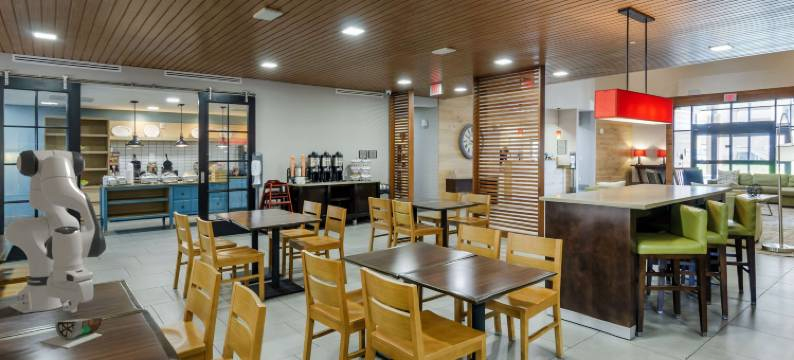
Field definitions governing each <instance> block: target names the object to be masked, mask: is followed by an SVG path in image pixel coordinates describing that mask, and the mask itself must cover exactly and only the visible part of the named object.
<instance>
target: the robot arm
mask: <svg viewBox="0 0 794 360" xmlns="http://www.w3.org/2000/svg"><path fill="white" fill-rule="evenodd" d="M85 167H86V162H85V158H84V155H83V154H82V153H80V152H78V151H74V150H71V151H68V150H63V149H62V150H60V149H59V150H58V149H50V150H49V149H48V150H47V149H46V150H44V149H43V150H42V149H40V150H39V149H38V150H33V149H29V150H23V151H21V152H20V153H19V154H18V156H17V159H16V168H17V170H18V172H19V174H20V175H22V176H23V177H28V178H29V177H30V182H29V197H28V199H29V200H28V202H29V205H30V207H32V208H33V209H35V210H37V211H40V212H44V213H45V215H44V216H41V217H31V218H30V217H29V218H23V219H17V220H15V221H12V222H10V223H9V224H8V225H7V226H6V228H5V238H6V240H7V241H8V242H9V243H10V244H11V245H13V246H16V247H18V248H19V249H20V250H22V251H23V253H24V254H25V255H26V257H27V262H28V269H29V275H28V276H27V277H26V280H27V282H26V285H25V286H24V287H23V288H22V289H21V290H20V291H19V292H18V293H17V296H16V302H14V303H12V304H10V308H11V309H14V310H16V311H18V312H20V313H22V314H27V313H33V312H44V311H51V310H55V309H58V308H62V311H63V312H70V313H76V312H77V311H78V306H79V303H82V304H83V303H84V304H85V303H88V302H90V301H92V300H93V299H94V282H93V280H92V279H93V278H94V273H93V271H91V270H90V269H88V268H87V267H86V266H84V260H83V259H84V258H85V259H86V258H98V257H100V256H101V255H103V253H104V252H105V251H106V250H107V238H106V236H105V235H104V233H103V231H102V228H101V225H100V223H99V220H98V217H97V215H96V212H95V209H94V206H93V204H92V200H91V199H90V197H89V195H88V194H87V193H86V192H83V191H81V188H79V187H78V184H77V181H76V179H77V178H76V177H77V176H80V175H81V174H83V172H84V171H85ZM66 209H71V210H74V211H76V212H78V213H79V214H80V215H81V217H82V219H83V222H84V225H85V228H86V231H81V229H80V223H79V220H78V218H76V217H75V216H73V215H71V214H70V213H69V212H67V210H66ZM45 245H46V246H45ZM69 302H70V304H69Z"/></svg>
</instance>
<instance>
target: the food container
mask: <svg viewBox="0 0 794 360" xmlns="http://www.w3.org/2000/svg"><path fill="white" fill-rule="evenodd" d="M102 321H103V318H102V317H83V318H76V319H68V320H60V321H59V320H58V321H54V325H55V326H54V327H55V331H56V333H57V336H58V335H59V336H60V337H62V338H65V339H73V338H75V337H76V336H77V335H82V334H86V333H90V332H92V333H95V332H96V331H97V330H99V328H100V327H101V325H102Z"/></svg>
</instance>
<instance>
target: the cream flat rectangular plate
mask: <svg viewBox="0 0 794 360" xmlns="http://www.w3.org/2000/svg"><path fill="white" fill-rule="evenodd" d="M102 336H103V334H102V333H101V334H100V333H97V332H90V333H86V334H82V335H77V336H76V337H75V338H73V339H65V338H62V337H60V336H59V335H58V334H57V335H56V336H52V337H49V338H47V339H44V340H41V343H45V344H49V345H53V346H57V347H61V348H66V349H70V348H74V347H76V346H78V345H80V344H83V343H87V342H88V341H91V340H94V339H98V338H99V337H102Z"/></svg>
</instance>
